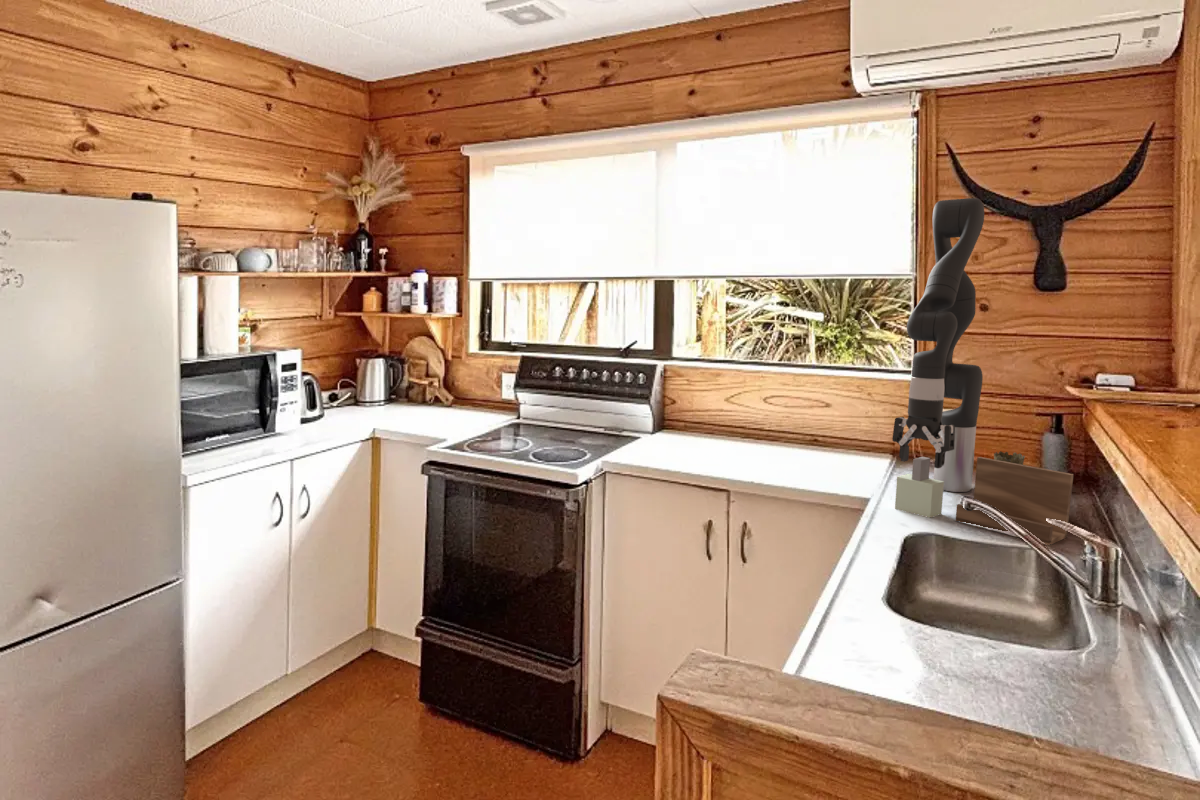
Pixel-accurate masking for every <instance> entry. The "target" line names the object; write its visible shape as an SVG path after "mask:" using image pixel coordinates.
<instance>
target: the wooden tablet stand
mask: <svg viewBox="0 0 1200 800" xmlns="http://www.w3.org/2000/svg"><path fill="white" fill-rule="evenodd" d="M975 468H976V469H975V470H976V471H975V481H974V492H973V500H974V499H977V500H979V501H982V502H984V503H987V504H989V505H992V506H993V507H996V508H997V509H999V510H1000V511H1002V512H1003V513H1005V514H1006V515H1007V516H1008V517H1009V518H1011V519H1012V520H1013V521H1015V522H1016V523H1018V524H1019V525H1021V526H1022V527H1024V528H1025V529H1027V530H1028V531H1029V532H1031V533H1032V534H1033V535H1035V536H1036V537H1037V538H1039V539H1040V540H1041V541H1042V542H1044V543H1045V544H1047V545H1046V546H1048V545H1049V544H1051V545H1053V544H1055V543H1058V542H1059V541H1061V540H1062V541H1063V539H1066V538H1068V531H1067V532H1066V531H1065V530H1063V529H1062V528H1060V527H1058V526H1055V525H1052V524H1050V523H1048V522H1047V521H1046V518H1050V519H1056V520H1061V521H1065V522H1068V523H1069V519H1070V510H1071V509H1070V508H1071V500H1072V491H1073V482H1074V473H1068V472H1063V471H1058V470H1051V469H1049V468H1048V469H1047V468H1042V467H1037V466H1031V465H1027V464H1026V465H1025V464H1023V465H1021V464H1016V463H1010V462H1005V461H1000V460H994V459H992V458H989V457H988V458H987V457H982V456H978V457H977V459H976V467H975ZM962 505H963V504H961V503H958V504H956V509H955V510H956V511H955V512H956V514H955V522H956V521H960V522H966V523H971V524H976V525H980V526H983V527H988V528H993V529H998V530H1002V531H1008V530H1006V529H1005V528H1004V527H1003V526H1001V525H1000V524H999V523H998V522H997V521H995V520H994V519H992V518H991V517H989V516H988V515H987V514H985V513H983V512H982V511H980V510H972V511H967V510H965V509H964V508H963V506H962ZM1049 546H1050V545H1049Z"/></svg>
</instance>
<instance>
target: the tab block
mask: <svg viewBox="0 0 1200 800" xmlns="http://www.w3.org/2000/svg"><path fill="white" fill-rule="evenodd" d="M930 467H931V458H930V457H925V456H920V457H916V458H913V460H912V470H911V471H912V473H907V474H903V475H899V476H896V486H895V487H896V489H895V501H894V502H895V503H894V509H895V510H899V511H901V512H905V511H906V513H909V512H911V513H910V514H913V513H915V514H914V515H917V514H919V515H918V516H921V515H923V516H922V517H925V516H927V517H926V518H928V517H931V518H934V517H937V516H939V515H938V514H940V515H942V513H943V512H942V511H943V501H944V500H943V499H944V490H943V487H944V481H940V480H935V479H934V478H930ZM936 515H937V516H936ZM933 516H934V517H933Z"/></svg>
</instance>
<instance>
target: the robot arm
mask: <svg viewBox="0 0 1200 800" xmlns="http://www.w3.org/2000/svg"><path fill="white" fill-rule="evenodd" d="M984 207H985V206H984V203H983V202H982V200H981V199H980V198H977V197H976V198H975V197H973V198H972V197H971V198H970V197H966V198H955V199H943V200H939V201H937V202H936V203H935V204H934V207H933V210H932V234H933V236H932V237H933V245H934V246H933V247H934V257H935V260H934V261H935V265H934V266H933V267H932V269H931V271H930V272H929V275H928V278H927V282H926V284H925V285H926V286H925V288H924V292H923V295H922V297H921V298H920V300H919V302H918V303H917V305H916V306H915V307H914V309H913V310H912V312H911V313H910V315H909V317H908V320H907V323H906V332H907V335H908V337H909V338H910V339H911V340H914V341H918V342H936V345H935V347H933V349H931V350H925V351H919V352H918V351H917V352H916V353H914V355H913V357H912V369H911V378H910V379H911V380H910V384H909V391H908V407H907V415H908V417H907V418H905V416H899V417H896V418H894V424H893V432H892V438H891V440H892V442H894V443H898V445H899V456H898V457H899V459H900V461H901V462H908V461H909V456H910V455H909V454H910V445H909V444H910V443H911V442H912V440H914V439H915V440H922V441H929V443H930V444H931V445H932V446H933V448H934V450H935V454H934V455H935V457H934V466H933V467H934V470H933V479H935V480H940V481H944V487H943V491H944V492H945V491H947V492H953V493H966V492H967V493H968V492H970V491H971V490H972V486H973V475H974V474H973V473H974V463H975V462H974V461H975V446H976V434H977V424H978V423H977V421H978V417H979V409H980V408H979V407H980V401H981V395H982V394H981V393H982V388H983V380H984V379H983V371H982V368H981V367H980V366H979V365H977V364H976V365H975V364H968V363H957V362H955V363H954V361H953V358H954V350H955V348H956V346H957V343H958V342H959V341H960V339H961V337H962V336H963V335H964V333H965V332H966V330H967V329H968V328H969V326H970V325H971V323H973V322H972V321H973V320H974V319H975V318H974V317H975V316H976V304H977V303H976V288H975V285H974V283H973V281H972V279H971V278H970V276H969V275H968V274H967V272H966V271H965V269H966V266H967V263H968V261H969V259H970V258H971V255H972V253H973V252H974V248H975V246H976V244H977V242H978V239H979V237H980V235H981V233H982V230H983V227H984V222H985V208H984ZM952 238H955V239H957V238H959V239H958V241H957V242H956V243H955V244H954V245H953V246H952V241H951V240H952ZM945 398H946V399H953V400H961V404H960V405H959V406H958V407H955V408H952V409H950V410H949V409H948V410H944V400H945ZM906 426H907V429H908V430H907V431H906V433H904V431H905V429H904V428H905V427H906Z"/></svg>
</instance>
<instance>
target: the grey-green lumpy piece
mask: <svg viewBox="0 0 1200 800" xmlns="http://www.w3.org/2000/svg"><path fill="white" fill-rule="evenodd" d="M993 458H994V460H1000V461H1005V462H1010V463H1016V464H1021V465H1024V461H1025V458H1026V456H1025V455H1022V453H1017V452H1013V453H1012V454H1009V452H1008V451H1005V452H1004V451H999V452H997V451H995V452H994V453H993Z"/></svg>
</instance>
